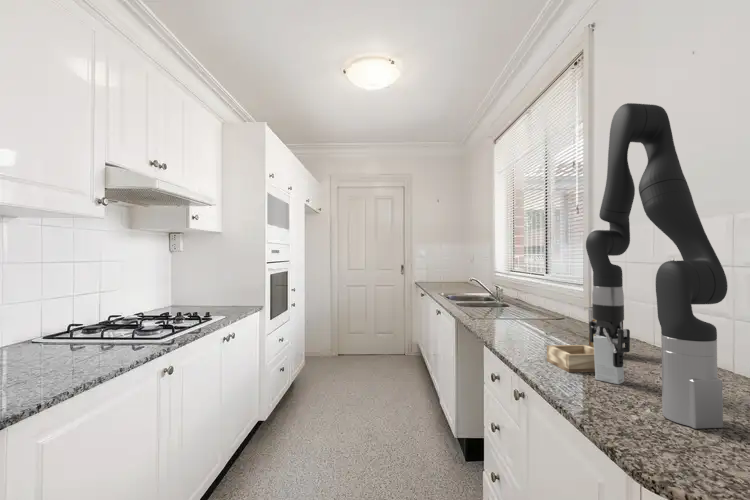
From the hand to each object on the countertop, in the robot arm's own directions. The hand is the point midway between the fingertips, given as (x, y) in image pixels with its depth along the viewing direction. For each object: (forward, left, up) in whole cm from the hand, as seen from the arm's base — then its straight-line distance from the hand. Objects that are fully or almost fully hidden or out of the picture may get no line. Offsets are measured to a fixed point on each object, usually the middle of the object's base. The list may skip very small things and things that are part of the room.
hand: (608, 363), depth 110 cm
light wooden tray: (+15, 0, -5) cm, 16 cm away
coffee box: (+28, -18, -5) cm, 34 cm away
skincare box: (0, 0, -5) cm, 5 cm away
